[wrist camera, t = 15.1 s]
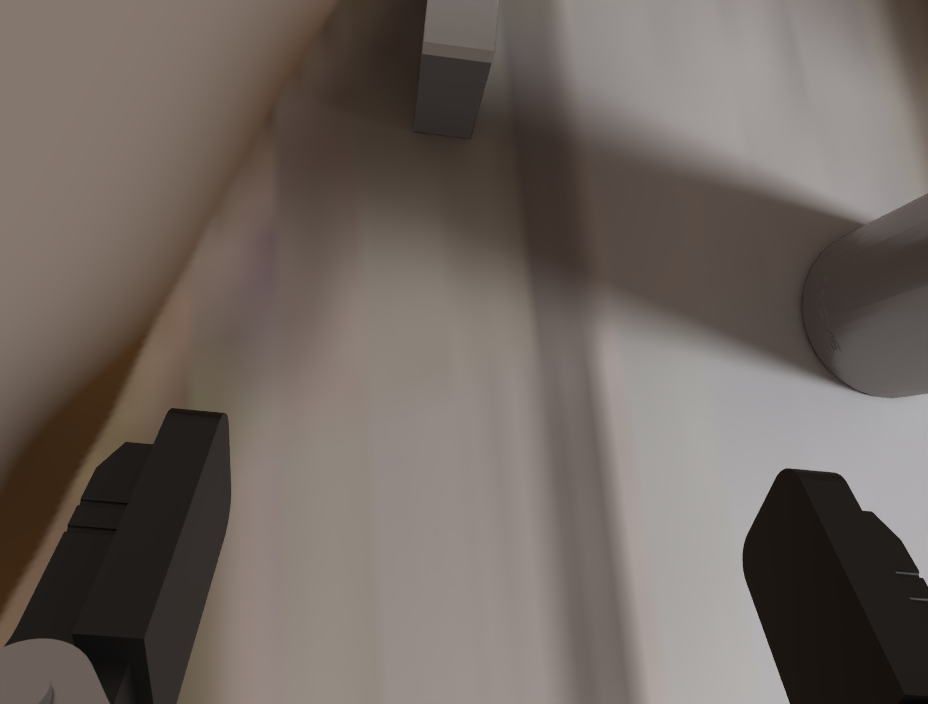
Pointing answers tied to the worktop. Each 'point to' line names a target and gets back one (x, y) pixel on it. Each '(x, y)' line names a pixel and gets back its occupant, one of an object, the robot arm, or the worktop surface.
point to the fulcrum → (454, 65)
